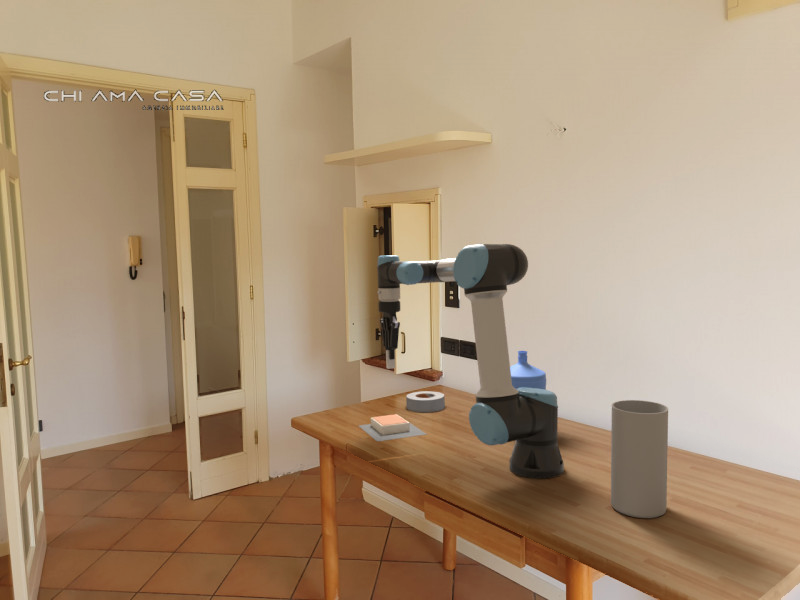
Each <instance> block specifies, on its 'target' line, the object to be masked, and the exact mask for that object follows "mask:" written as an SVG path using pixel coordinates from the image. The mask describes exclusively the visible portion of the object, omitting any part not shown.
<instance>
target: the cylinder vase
mask: <svg viewBox="0 0 800 600" xmlns="http://www.w3.org/2000/svg"><path fill="white" fill-rule="evenodd" d="M610 430H611V431H610V432H611V434H610V435H611V438H610V439H611V441H610V442H611V443H610V444H611V447H610V449H611V450H610V451H611V454H610V504H611V506H612V508H613V509H614V510H616V511H617V512H618V513H620V514H622V515H625V516H628V517H632V518H638V519H653V518H654V519H655V518H659V517H661V516H663V515H664V514H666V512H667V507H668V506H667V502H668V500H667V499H668V498H667V497H668V494H667V493H668V449H669V448H668V447H669V446H668V445H669V444H668V443H669V442H668V439H669V436H668V434H669V407H668V406H667V405H664V404H662V403H658V402H653V401H650V400H649V401H648V400H640V399H639V400H636V399H625V400H617V401H614V402H613V403H612V404H611V429H610Z"/></svg>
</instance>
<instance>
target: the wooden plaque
mask: <svg viewBox="0 0 800 600" xmlns="http://www.w3.org/2000/svg"><path fill="white" fill-rule="evenodd" d="M410 423H411V422H409V421H408V420H406V418H405V419H404V418H403V417H402V416H400V415H398V414H397V413H395V414H388V415H380V416H373V417H370V424H371V426H372V427H373V428H374V429H376V430H377V431H378V432H379V433H381V434H382V435H387V434H394V433H401V432H408V431H410Z"/></svg>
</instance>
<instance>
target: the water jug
mask: <svg viewBox="0 0 800 600" xmlns="http://www.w3.org/2000/svg"><path fill="white" fill-rule="evenodd" d="M510 371H511V380H512V386H513V387H514V388H515V389H517V388H522V387H526V388H537V389H543V390H547V375H546V372H545V371H544V370H542V369H540V368H537V367H536V366H533V365H531V364H530V363H528V350H527V351H526V350H518V351H517V363H515V364H513V365H510Z"/></svg>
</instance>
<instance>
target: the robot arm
mask: <svg viewBox="0 0 800 600" xmlns="http://www.w3.org/2000/svg"><path fill="white" fill-rule="evenodd" d="M376 268H377V271H376V272H377V287H378V288H377V289H378V290H377V291H376V294H377V295H378V300H379V301H378V312H379V313H382V318H380V320H379V322H380V327H381V328H380V329H381V335H382V336H381V337H382V346H383V348H385V359H386V360H385V361H386V362H385V363H386V369H387V370H390V369H391V370H392V369H396V349H398V345H399V333H400V327H401V321H398V317H397V313H398V312H400V311H401V301H400V300H401V285H406V286H412V285H417V284H429V283H430V284H431V283H434V284H435V283H446V282H456V285H457V286H458V287H460V288H462V289H463V291H464V297H466V298H467V299H468V300H469V301H470V304H471V313H472V323H473V332H474V333H473V334H474V340H475V351H476V359H477V360H476V362H477V366H478V369H477V370H478V378H479V387H480V388H479V390H478V391H477V392H476V394H475V401H476V403H475V404H473V405H472V406H471V408H470V410H469V413H468V420H469V426H470V428H471V430H472V433H473V434H474V435H475V437H476V438H477V439H478V440H479V441H480V442H481V443H482V444H484V445H487V446H496V445H500V446H501V445H504V444H506V443H511V442H515V443H514V446H513V448H512V451H511V456H510V458H509V466H508V467H509V470H510V472H512V473H513V474H515V475H517V476H521V477H525V478H528V479H529V478H530V479H538V480H539V479H540V480H541V479H551V478H556V477H559V476H561V475H563V473H564V471H565V469H564V467H565V463H564V460H563V457H562V454H561V450H560V448H559V445H558V428H559V427H558V421H559V420H558V419H559V417H558V416H559V415H558V413H559V405H558V396H557V395H556V393H554V392H553V391H550V390H548V389H546V390H543V389H537V388H526V387H522V388H517V389H515V388H514V387H513V386H512V380H511V371H510V367H511V364H510V363H511V362H510V355H509V345H508V338H507V337H508V336H507V327H506V319H505V310H504V309H505V308H504V301H503V299H504V296H505V295H506V294H507V292H508V287H507V286H510V285H515V284H516V283H519V282H520V281H522V280H523V279H524V277H525V276H526V274H527V272H528V269H529V260H528V256H527V255H526V253H525V252H524V250H523V249H521V247H518V246H516V245H514V244H510V243H502V244H500V243H499V244H498V243H492V244H491V243H477V244H470V245H466V246H464V247H463V248H461V250H460V251H459V252H458V253H457V255H456V257H454V258H445V259H436V260H435V259H434V260H407V261H406V260H405V261H401V260H400V257H399V255H395V254H394V255H379V256H378V257H377V266H376Z"/></svg>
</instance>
